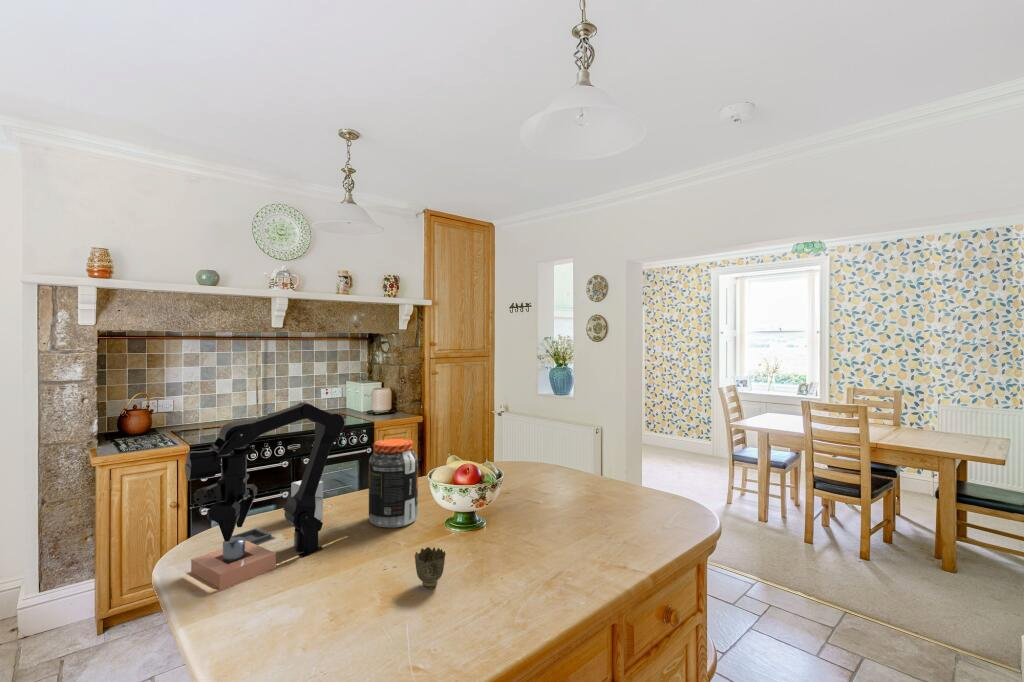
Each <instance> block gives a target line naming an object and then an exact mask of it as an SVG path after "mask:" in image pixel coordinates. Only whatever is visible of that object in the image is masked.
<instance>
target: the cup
mask: <svg viewBox="0 0 1024 682" xmlns="http://www.w3.org/2000/svg"><path fill="white" fill-rule="evenodd" d="M446 555H447V553H446V551H445V550H444V551H443V549H442V548H441V549H440V547H437V549H436V547H433V548H431V547H429V546H427V547H425V549H424V548H423V547H422V548H421V549H420V552H418V551H415V554H414V562H415V571H416V575H417V577H418V579H419V580H420V581H421V584H422V586H423V588H425V589H433V588H435V587H437V585H438V580H440V579H441V577H442V576H443V573H444V569H445V561H446Z"/></svg>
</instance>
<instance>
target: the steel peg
mask: <svg viewBox="0 0 1024 682" xmlns="http://www.w3.org/2000/svg"><path fill="white" fill-rule="evenodd" d="M222 549H223V562H224V563H226V564H230V563H233V562H235V561H238V560H241V559H244V558H245V538H244V537H232V538H231V539H230V541H227V542H225V541H224V540H223V541H222Z"/></svg>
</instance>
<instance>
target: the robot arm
mask: <svg viewBox="0 0 1024 682" xmlns="http://www.w3.org/2000/svg"><path fill="white" fill-rule="evenodd" d="M304 419H307V420H309V421H311V422H313V423H315V424H314V443H313V446H312V449H311V452H310V454H309V458H308V461H307V463H306V464H307V465H306V467H305V468H304V469H305V470H304V472H303V475H302V479H301V480H302V481H301V480H300V481H301V484H300V487H299V490H298V492H297V493H296V494H295V495H294V496H291V494H290V495H288V496H287V499H286V504H285V506H284V508H283V510H282V511H284V518H285V519H286V521H288V523H290V524H291V526H292V527H293V528H294V535H293V536H294V539H293V541H294V545H293V546H294V548H295V549H294V550H295V552H297V553H299V554H298V556H300V557H303V558H304V557H306V556H307V557H308V555H311V554H314V553H316V552H319V551H321V550H323V548H324V546H321V545H319V532H321V530H322V528H323V524H324V522H322V520H318V519H317V518H315V517H314V515H315V509H316V501H315V494H316V491H317V488H318V485H319V482H320V481H321V479H322V475H323V472H324V469H325V466H326V464H327V460H328V457H329V454H330V451H331V448H332V445H333V444H334V443H335V442H336V441H337V440H338V438H339V437H340V435H341V433H342V432H343V429H344V427H345V422H346V421H345V419H344V417H343V416H342V415H341V414H339V413H336V412H332V411H330V410H329V411H328V410H327V411H326V410H323V409H320V408H318V407H316V406H314V405H313V404H311V403H308V402H305V401H302V402H299V403H297V404H296V405H295V404H294V405H293V406H290V407H286V408H284V409H281V410H278V411H275V412H273V413H269V414H267V415H264V416H261V417H258V418H253V419H246V420H245V419H244V420H238V421H232V422H228V423H226V424H223V425H222V426H221V428H220V430H219V433H218V437H217V438H216V439H215V441H214V442H213V443H212V445H211V446H210V447H209V449H207V450H199V451H195V450H194V451H193V450H191V451H188V452H187V457H186V460H185V464H184V472H185V478H186V480H187V481H188V482H189V481H196V480H201V479H207V478H214V477H215V476H216V475H218V474H219V472H220V471H221V472H220V473H221V475H220V477H221V478H219V479H217V481H216V483H213V484H211V485H209V486H206V487H205V486H204V487H202V488H198V489H197V490H196V491H195V493H194V494H193V502H196V503H197V504H198V506H203V505H204V504H206V503H208V502H211V501H214V500H215V501H216V502H215V503H214V504H213V505H211V506H210V507H209V508H208V509H207V510H206V519H208V520H210V521H212V522H216V523H217V524H218V527H219V529H220V532H221V535H222V538H223V541H225V542H227V541H230V539H231V537H232V536H233V533H234V531H235V528H236V527H237V528H242V527H243V525H244V523H245V520H246V518H247V516H248V513H249V512H250V509H251V507H252V506H253V503H254V501H255V499H256V496H257V495H258V487H257V486H256V485H255V484H254V483H248V484H247V481H248V480H249V478H250V473H248V471H247V468H248V467H247V466H248V458H247V457H248V456H249V455H254V454H256V453H257V451H256V450H255V449H253V448H252V446H251V445H250V443H252V442H254V441H256V440H257V439H258V438H259V437H261V436H262V435H264V434H266V433H268V432H271V431H274V430H278V429H279V428H281V427H285V426H287V425H291V424H293V423H296V422H298V421H301V420H304Z"/></svg>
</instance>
